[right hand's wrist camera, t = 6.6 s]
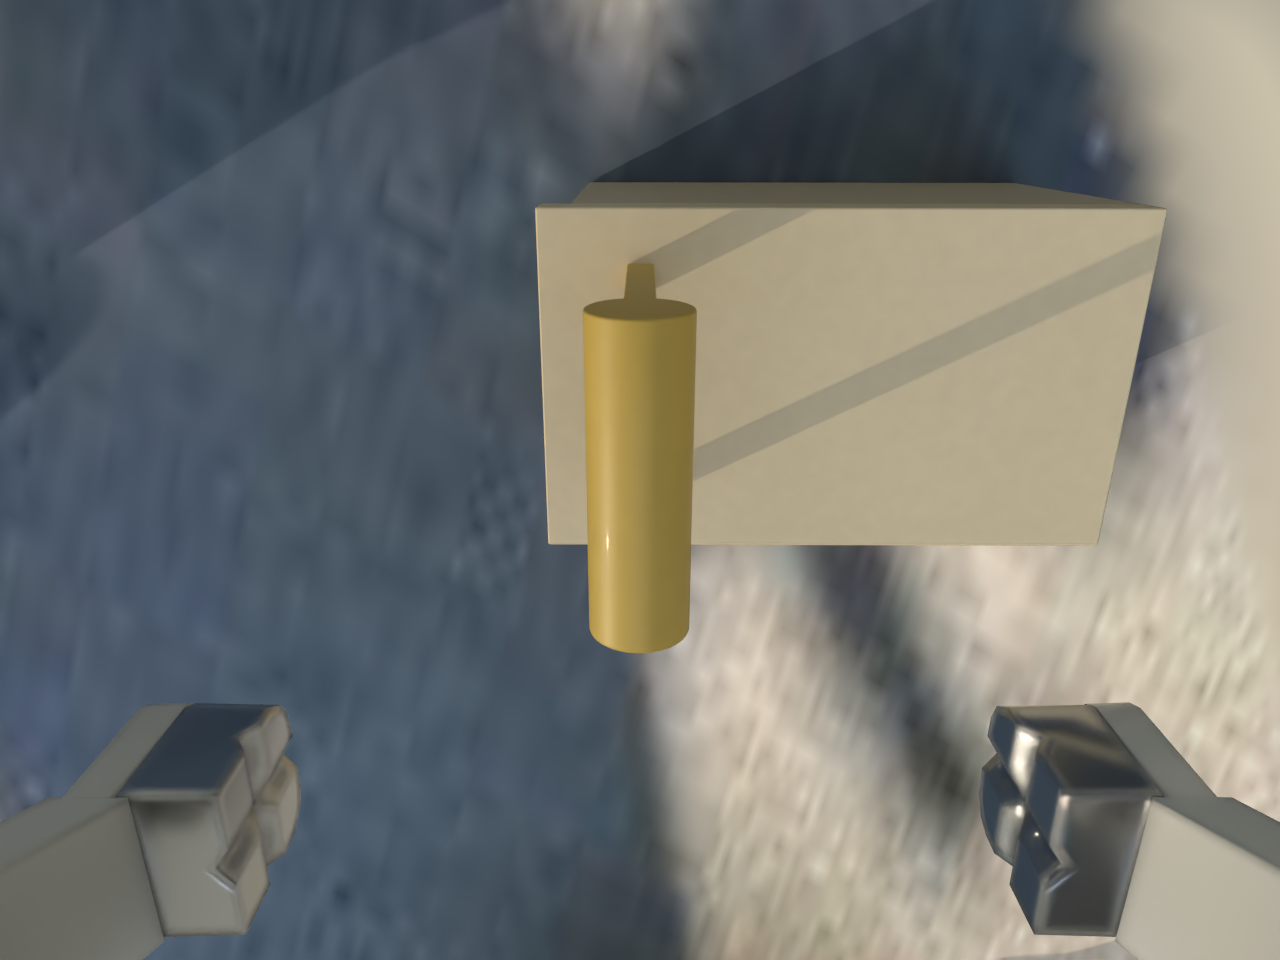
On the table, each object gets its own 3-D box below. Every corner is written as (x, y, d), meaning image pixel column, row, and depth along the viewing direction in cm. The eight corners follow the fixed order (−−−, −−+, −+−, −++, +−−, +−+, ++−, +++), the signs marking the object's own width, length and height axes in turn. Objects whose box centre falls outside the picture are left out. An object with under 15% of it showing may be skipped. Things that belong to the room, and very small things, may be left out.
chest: (592, 433, 36) (577, 528, 28) (587, 182, 32) (569, 202, 24) (979, 435, 36) (1079, 529, 28) (1016, 182, 32) (1144, 204, 24)
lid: (551, 528, 28) (512, 704, 19) (539, 203, 24) (485, 247, 16) (1080, 529, 28) (1269, 707, 19) (1145, 204, 24) (1410, 248, 16)
